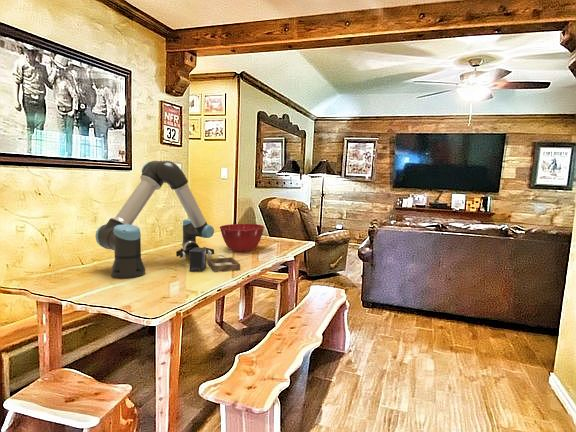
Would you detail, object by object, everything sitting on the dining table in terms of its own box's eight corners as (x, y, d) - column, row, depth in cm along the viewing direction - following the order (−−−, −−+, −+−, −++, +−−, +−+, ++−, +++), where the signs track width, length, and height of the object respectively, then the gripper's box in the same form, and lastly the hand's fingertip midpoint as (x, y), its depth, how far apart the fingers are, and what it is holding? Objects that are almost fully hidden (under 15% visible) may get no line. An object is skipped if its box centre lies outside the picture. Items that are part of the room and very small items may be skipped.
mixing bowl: (242, 256, 226) (242, 231, 224) (210, 250, 243) (210, 226, 241) (273, 249, 248) (273, 226, 246) (241, 244, 265) (241, 222, 264)
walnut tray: (213, 272, 189) (213, 266, 189) (207, 264, 205) (207, 258, 205) (240, 270, 194) (240, 264, 194) (232, 262, 210) (232, 257, 210)
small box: (202, 271, 190) (201, 251, 189) (189, 271, 190) (188, 251, 189) (207, 266, 200) (206, 247, 199) (194, 266, 200) (194, 246, 199)
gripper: (213, 253, 224) (221, 261, 205) (169, 256, 215) (173, 264, 195) (213, 240, 223) (221, 247, 204) (169, 243, 214) (173, 250, 194)
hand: (197, 255), depth 199 cm, fingers open, 13 cm apart
